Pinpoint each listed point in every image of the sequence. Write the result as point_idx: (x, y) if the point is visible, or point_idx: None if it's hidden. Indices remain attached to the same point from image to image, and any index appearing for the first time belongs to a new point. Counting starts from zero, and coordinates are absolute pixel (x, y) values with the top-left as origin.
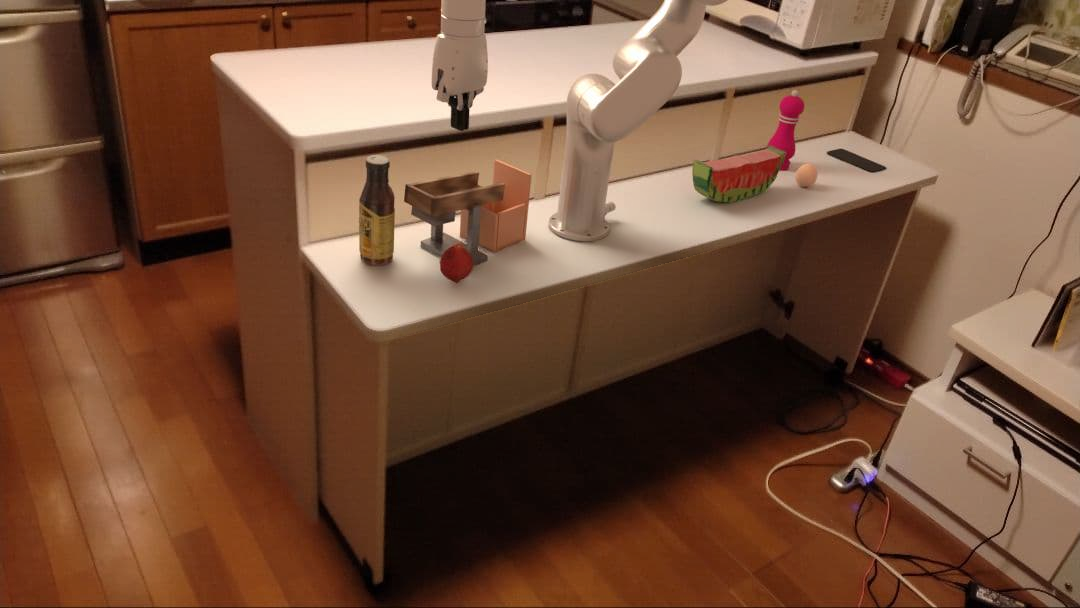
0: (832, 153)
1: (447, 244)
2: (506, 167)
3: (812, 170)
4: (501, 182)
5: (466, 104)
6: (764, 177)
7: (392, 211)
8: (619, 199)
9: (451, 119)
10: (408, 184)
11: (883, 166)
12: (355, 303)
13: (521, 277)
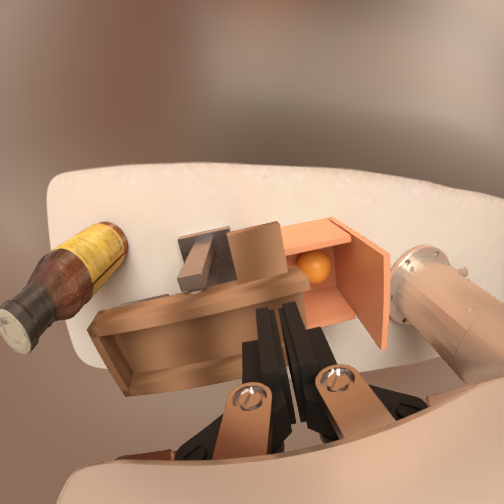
0: None
1: (211, 268)
2: (381, 291)
3: None
4: (363, 265)
5: (319, 432)
6: None
7: (86, 302)
8: (493, 238)
9: (242, 354)
10: (92, 331)
11: None
12: (68, 320)
13: None
